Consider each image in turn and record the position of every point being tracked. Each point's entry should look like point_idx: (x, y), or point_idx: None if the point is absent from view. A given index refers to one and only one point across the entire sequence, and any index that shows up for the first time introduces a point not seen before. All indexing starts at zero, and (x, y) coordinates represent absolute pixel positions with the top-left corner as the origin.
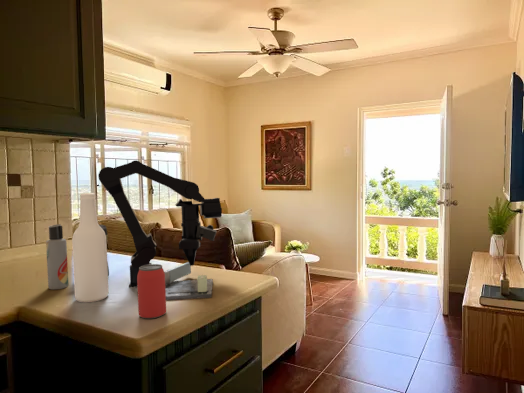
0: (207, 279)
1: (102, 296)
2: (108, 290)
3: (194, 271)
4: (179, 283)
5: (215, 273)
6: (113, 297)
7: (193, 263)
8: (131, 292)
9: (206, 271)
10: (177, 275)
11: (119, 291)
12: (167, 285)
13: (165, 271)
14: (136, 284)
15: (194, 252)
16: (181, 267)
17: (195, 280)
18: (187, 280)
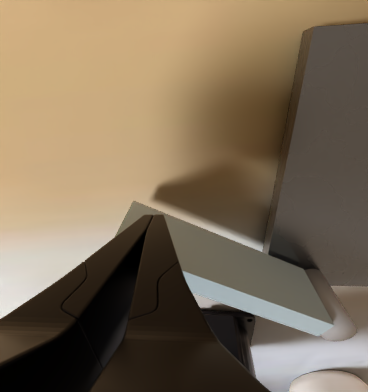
0: (305, 75)
1: (363, 383)
2: (334, 387)
3: (20, 183)
4: (324, 232)
5: (43, 31)
6: (345, 360)
7: (165, 224)
8: (315, 338)
9: (2, 111)
10: (256, 262)
11: (288, 357)
12: (334, 271)
13: (323, 336)
14: (249, 342)
15: (199, 317)
16: (225, 278)
17: (299, 159)
18: (278, 202)
